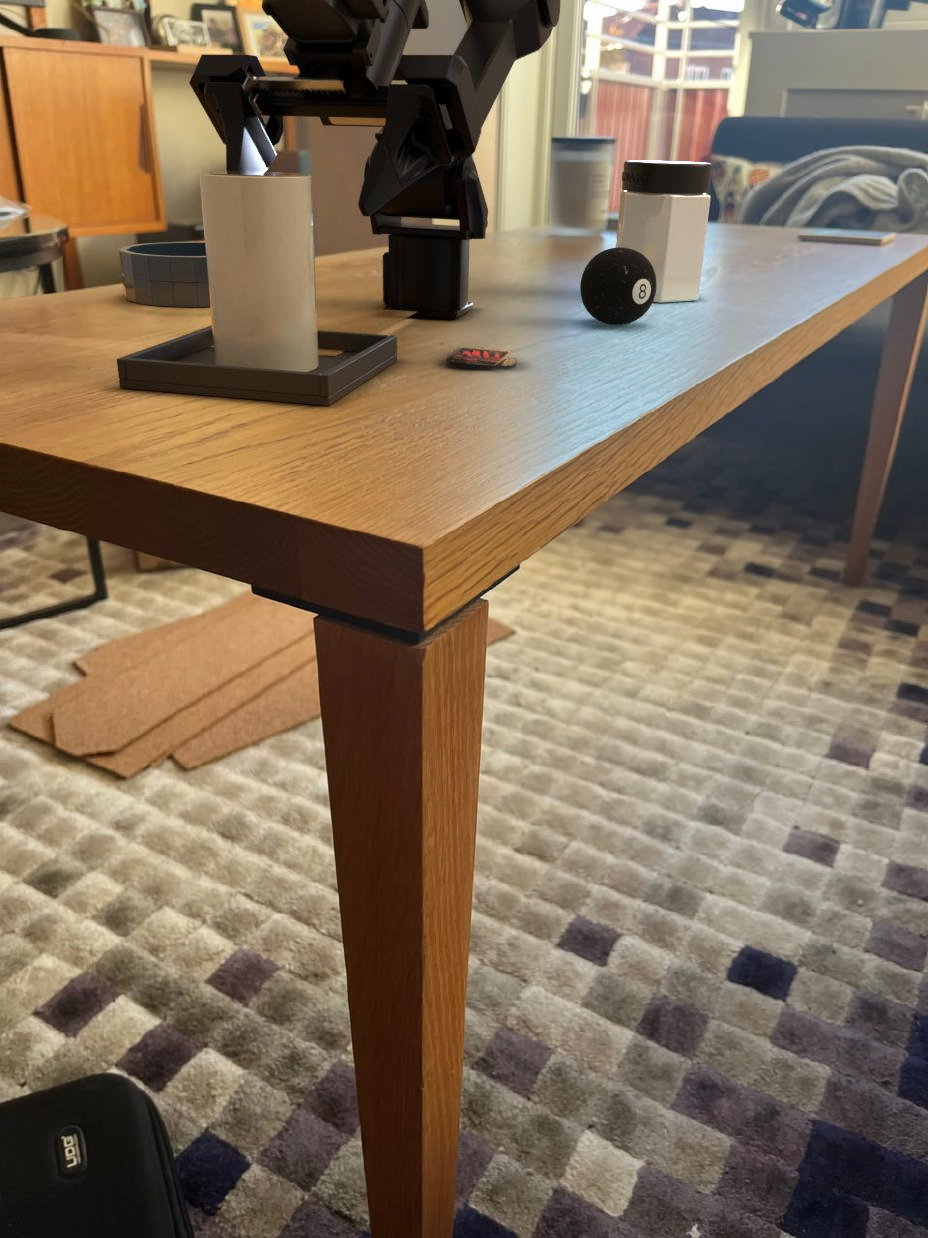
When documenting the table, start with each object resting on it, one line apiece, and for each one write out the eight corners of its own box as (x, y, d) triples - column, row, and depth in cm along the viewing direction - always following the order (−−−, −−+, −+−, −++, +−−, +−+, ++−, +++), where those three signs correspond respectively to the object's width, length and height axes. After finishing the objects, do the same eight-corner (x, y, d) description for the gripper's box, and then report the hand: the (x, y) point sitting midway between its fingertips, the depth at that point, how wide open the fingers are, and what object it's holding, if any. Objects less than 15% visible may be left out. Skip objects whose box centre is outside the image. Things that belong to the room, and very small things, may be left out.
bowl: (291, 297, 92) (288, 245, 90) (233, 318, 81) (228, 259, 79) (170, 290, 94) (165, 239, 92) (98, 309, 83) (90, 252, 81)
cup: (259, 351, 67) (247, 169, 62) (339, 363, 64) (333, 174, 59) (193, 368, 61) (175, 171, 57) (276, 381, 59) (264, 176, 54)
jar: (608, 288, 102) (618, 159, 97) (688, 290, 102) (703, 161, 97) (616, 301, 94) (628, 161, 89) (703, 304, 94) (720, 164, 89)
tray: (397, 361, 67) (397, 335, 67) (328, 406, 56) (327, 375, 55) (219, 347, 70) (217, 322, 69) (119, 387, 59) (115, 358, 58)
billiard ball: (610, 333, 79) (617, 252, 76) (563, 321, 84) (569, 244, 81) (666, 327, 82) (675, 249, 79) (619, 316, 86) (625, 242, 84)
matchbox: (445, 366, 65) (445, 359, 65) (448, 351, 70) (448, 344, 70) (516, 369, 65) (517, 361, 65) (515, 353, 70) (515, 347, 70)
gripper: (191, -93, 63) (101, 99, 58) (472, -106, 57) (396, 105, 53) (263, 60, 73) (191, 234, 68) (508, 61, 67) (447, 250, 63)
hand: (296, 207), depth 63 cm, fingers open, 9 cm apart
